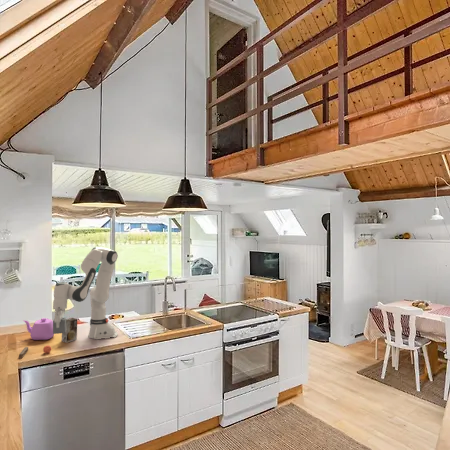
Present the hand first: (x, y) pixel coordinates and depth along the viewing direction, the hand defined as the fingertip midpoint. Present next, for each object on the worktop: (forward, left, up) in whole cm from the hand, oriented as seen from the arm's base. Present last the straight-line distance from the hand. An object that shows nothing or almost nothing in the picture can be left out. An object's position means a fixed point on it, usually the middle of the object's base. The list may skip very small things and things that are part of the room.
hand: (58, 325), depth 241 cm
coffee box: (-4, -25, -19) cm, 32 cm away
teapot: (+17, -35, -19) cm, 44 cm away
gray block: (-1, 0, -4) cm, 4 cm away
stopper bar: (+21, 0, -19) cm, 28 cm away
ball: (+7, 0, -16) cm, 17 cm away
